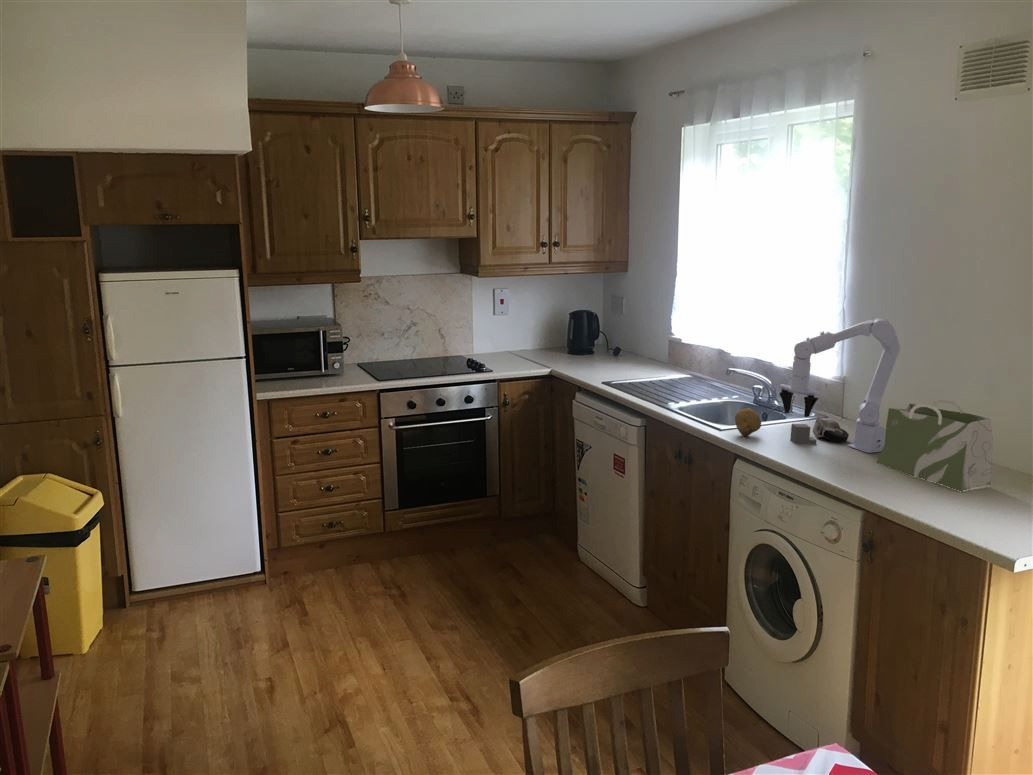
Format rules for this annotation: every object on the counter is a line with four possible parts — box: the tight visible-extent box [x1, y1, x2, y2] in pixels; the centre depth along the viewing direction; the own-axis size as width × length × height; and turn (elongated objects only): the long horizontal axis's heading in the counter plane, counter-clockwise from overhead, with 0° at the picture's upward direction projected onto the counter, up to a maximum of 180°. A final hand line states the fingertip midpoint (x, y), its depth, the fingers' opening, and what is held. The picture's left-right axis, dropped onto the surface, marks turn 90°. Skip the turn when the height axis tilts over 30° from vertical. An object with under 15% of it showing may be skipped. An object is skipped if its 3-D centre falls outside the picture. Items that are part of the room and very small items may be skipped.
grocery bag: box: [876, 398, 994, 492], centre depth 263 cm, size 32×14×23 cm, turn 24°
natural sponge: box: [734, 407, 762, 437], centre depth 306 cm, size 9×9×10 cm
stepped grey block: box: [789, 423, 818, 445], centre depth 299 cm, size 4×8×6 cm, turn 90°
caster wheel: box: [812, 414, 850, 444], centre depth 305 cm, size 7×11×10 cm
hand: (796, 414), depth 299 cm, fingers open, 7 cm apart
